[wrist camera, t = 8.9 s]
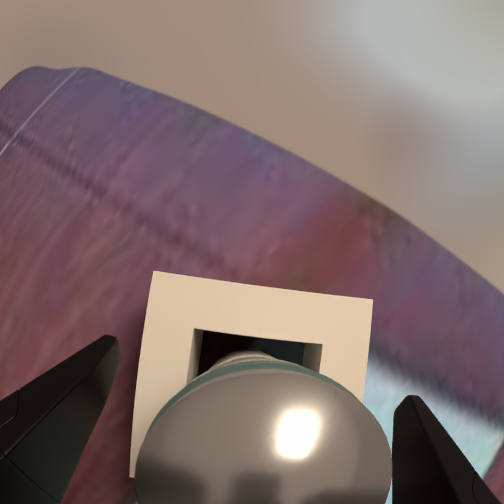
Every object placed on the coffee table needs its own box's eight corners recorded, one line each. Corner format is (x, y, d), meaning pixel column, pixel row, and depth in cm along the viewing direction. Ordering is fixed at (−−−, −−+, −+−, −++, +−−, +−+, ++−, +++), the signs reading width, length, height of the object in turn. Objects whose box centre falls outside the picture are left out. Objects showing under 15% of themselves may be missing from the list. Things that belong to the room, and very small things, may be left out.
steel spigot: (264, 439, 16) (310, 598, 3) (190, 402, 16) (93, 516, 4) (303, 370, 17) (439, 422, 5) (230, 332, 17) (207, 312, 5)
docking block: (322, 471, 15) (341, 499, 12) (150, 451, 15) (129, 476, 11) (346, 308, 18) (372, 299, 14) (171, 285, 18) (153, 270, 14)
